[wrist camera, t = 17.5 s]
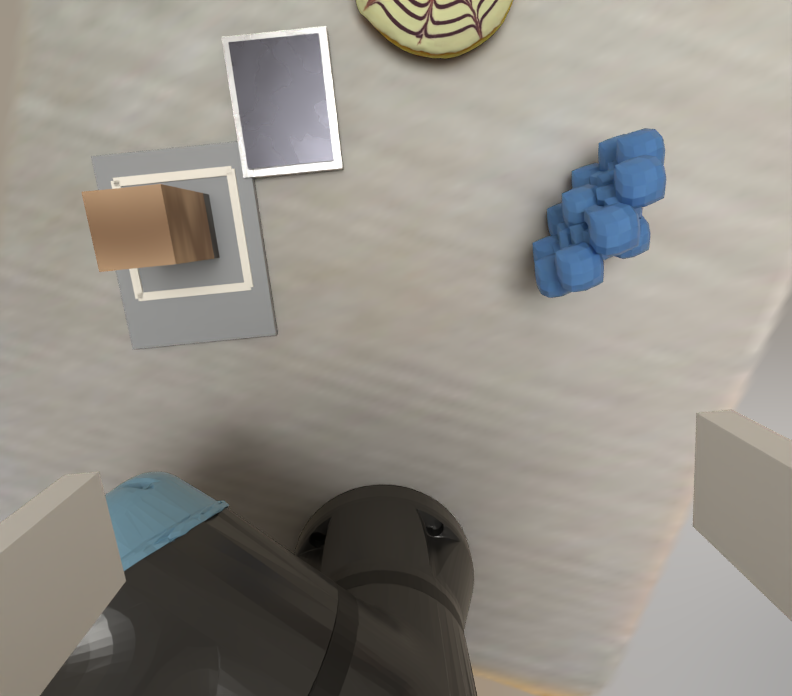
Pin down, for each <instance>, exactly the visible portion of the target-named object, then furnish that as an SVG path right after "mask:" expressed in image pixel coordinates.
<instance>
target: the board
mask: <svg viewBox="0 0 792 696" xmlns="http://www.w3.org/2000/svg"><path fill="white" fill-rule="evenodd" d="M91 159H92V163H93V168H94V173H95V177H96V182H97V186H98V190H106V189H116V188H126V187H135V186H145V185H155V184H163V185H168V186H172V187H177V188H182V189H186V190H191V191H195V192H200V193H205V194H209V198H210V204H211V210H212V215H213V221H214V227H215V233H216V239H217V244H218V250H219V256H220V258H215V259H208V260H201V261H194V262H188V263H181V264H173V265H163V266H153V267H143V268H133V269H123V270H116V274H117V278H118V283H119V288H120V292H121V297H122V301H123V306H124V311H125V315H126V320H127V324H128V329H129V334H130V338H131V343H132V347H133V349H141V348H151V347H161V346H171V345H181V344H191V343H202V342H212V341H222V340H232V339H242V338H252V337H262V336H272V335H277V334H278V333H277V326H276V319H275V313H274V306H273V300H272V293H271V287H270V280H269V273H268V267H267V260H266V254H265V247H264V240H263V234H262V227H261V221H260V214H259V208H258V201H257V194H256V188H255V181H254V178H243V172H242V165H241V159H240V153H239V146H238V141H236V142H227V143H217V144H207V145H197V146H187V147H177V148H168V149H158V150H148V151H138V152H128V153H119V154H109V155H99V156H91Z"/></svg>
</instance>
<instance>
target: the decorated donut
mask: <svg viewBox="0 0 792 696" xmlns="http://www.w3.org/2000/svg"><path fill="white" fill-rule="evenodd" d="M512 2H513V0H356V3H357V7H358V10H359V12H360V13H361V14H362V15H363V16H365V18H366V19H368V20H369V21H370V22H371V24H372V25H373V26H374V27H375V28H376V29H377V30H378V31H379V32H380V33H381V34H382V35H383V36H384V37H385V38H386V39H387V40H389V41H390V42H391V43H393V44H394V45H396V46H397V47H399V48H401V49H402V50H404V51H407V52H408V53H411V54H415V55H418V56H423V57H429V58H443V59H444V58H452V57H456V56H459V55H462V54H464V53H466V52H469V51H470V50H472V49H474V48H476V47H477V46H479V45H481V44H482V43H483V42H485V41H486V40H487V39H489V38H490V37H491V36H492V35H493V34H494V33H495V32H496V31H497V30H498V29H499V27H500V26H501V25H502V23H503V22H504V20H505V18H506V16H507V14H508V12H509V10H510V7H511V5H512Z"/></svg>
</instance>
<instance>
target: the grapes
mask: <svg viewBox="0 0 792 696" xmlns="http://www.w3.org/2000/svg"><path fill="white" fill-rule="evenodd" d="M664 157H665V146H664V140H663V138H662V136H661V135H660V134H659V133H658V132H657V131H656V130H655V129H646V128H645V129H641V130H638V131H635V132H631V133H628V134H623V135H620V136H616V137H613V138H610V139H607V140H605V141H603V142H600V143H599V148H598V162H599V163H593V164H589V165H586V166H583V167H580V168H578V169H576V170H574V171H572V180H571V181H572V189H571V190H569V191H567V192H564V193H562V203H559V204H557V205H554V206H552V207H550V208H548V209H547V221H548V228H549V233H550V234H551V236H547V237H545V238H542V239H540V240H538V241H536V242H534V243H533V257H534V263H535V277H536V283H537V287H538V289H539V291H540V293H541V294H542V295H544V296H547V297H549V298H553V297H560V296H564V295H566V294H568V293H570V292H579V291H586V290H588V289H590V288H593V287H595V286H597V285H599V284H600V283H602V282H603V276H604V263H603V260H606V259H608V258H610V257H613V256H616V257H619V258H622V259H625V258H631V257H635V256H637V255H639V254H641V253H643V252H645V251H647V250H649V244H650V228H649V223H648V222H647V221H646V220H645V218H644V217H643V216H642V207H644V206H648V205H650V204H652V203H654V202H656V201H659V200H661V199H663V198H664V194H665V186H666V174H665V168H664V166H663V165H664Z"/></svg>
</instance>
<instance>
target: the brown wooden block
mask: <svg viewBox="0 0 792 696" xmlns="http://www.w3.org/2000/svg"><path fill="white" fill-rule="evenodd" d="M82 196H83V201H84V205H85V210H86V214H87V219H88V223H89V228H90V232H91V237H92V241H93V245H94V250H95V254H96V259H97V263H98V268H99V272H103V271H113V270H123V269H133V268H143V267H153V266H163V265H173V264H181V263H188V262H194V261H201V260H208V259H215V258H220V256H219V250H218V244H217V239H216V233H215V227H214V221H213V215H212V210H211V204H210V198H209V194H205V193H200V192H195V191H191V190H186V189H182V188H177V187H172V186H168V185H163V184H155V185H145V186H135V187H126V188H116V189H106V190H96V191H86V192H82Z"/></svg>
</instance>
